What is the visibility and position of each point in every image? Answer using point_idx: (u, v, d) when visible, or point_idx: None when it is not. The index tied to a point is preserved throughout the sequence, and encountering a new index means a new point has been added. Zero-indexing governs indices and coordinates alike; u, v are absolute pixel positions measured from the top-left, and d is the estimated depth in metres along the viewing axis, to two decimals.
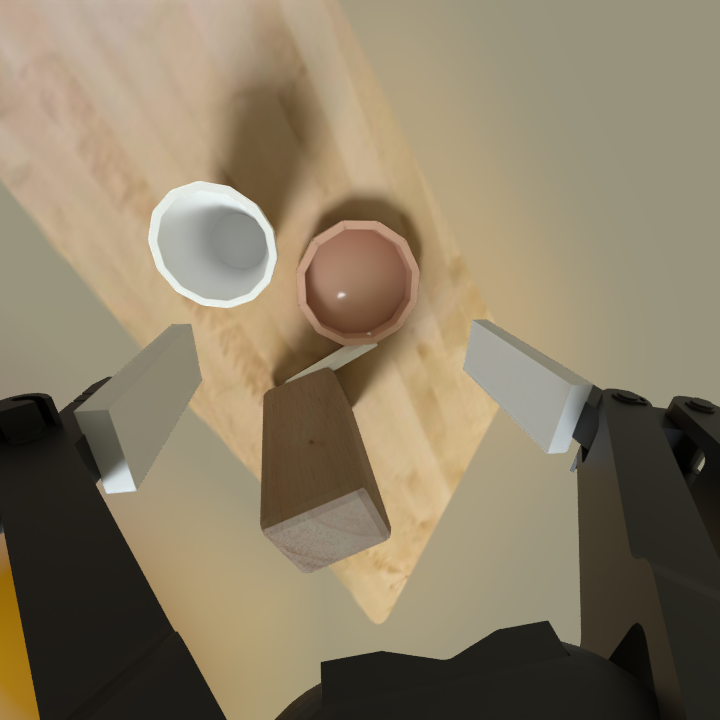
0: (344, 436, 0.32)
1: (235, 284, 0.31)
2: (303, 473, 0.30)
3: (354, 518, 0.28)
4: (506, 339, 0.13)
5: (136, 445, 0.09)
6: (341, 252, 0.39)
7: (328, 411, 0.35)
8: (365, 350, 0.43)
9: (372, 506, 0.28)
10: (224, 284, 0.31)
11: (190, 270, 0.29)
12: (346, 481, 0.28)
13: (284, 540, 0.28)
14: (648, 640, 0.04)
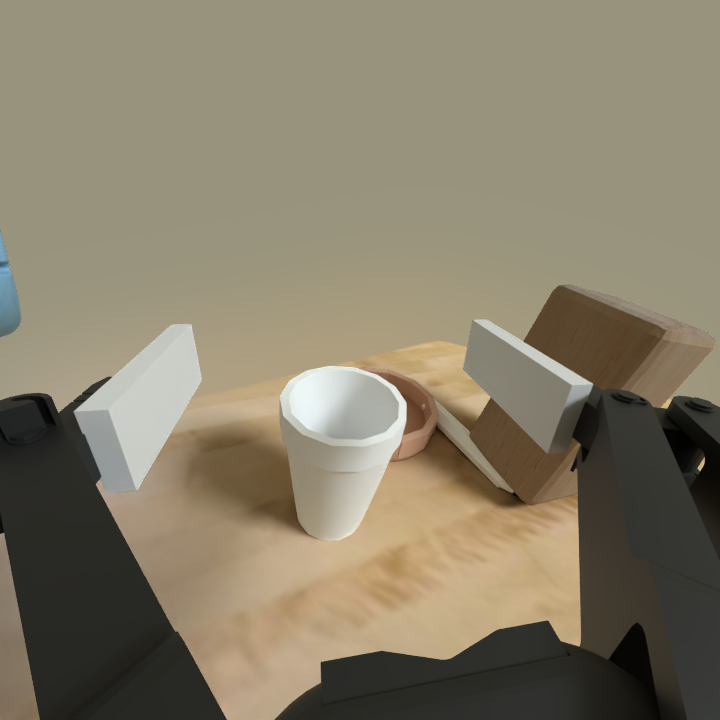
0: (526, 342, 0.32)
1: None
2: (580, 344, 0.27)
3: (598, 293, 0.30)
4: (506, 339, 0.13)
5: (136, 445, 0.09)
6: None
7: None
8: (441, 406, 0.43)
9: None
10: None
11: None
12: (561, 298, 0.29)
13: (666, 321, 0.24)
14: (648, 640, 0.04)
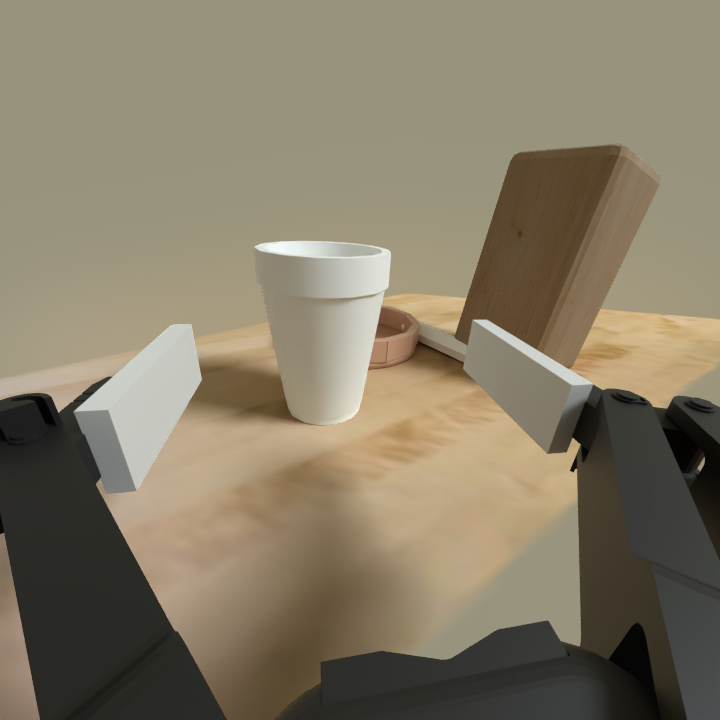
0: (494, 220, 0.33)
1: None
2: (546, 195, 0.28)
3: None
4: (506, 339, 0.13)
5: (136, 445, 0.09)
6: None
7: (487, 265, 0.34)
8: (420, 322, 0.42)
9: None
10: None
11: None
12: (519, 163, 0.30)
13: None
14: (648, 640, 0.04)
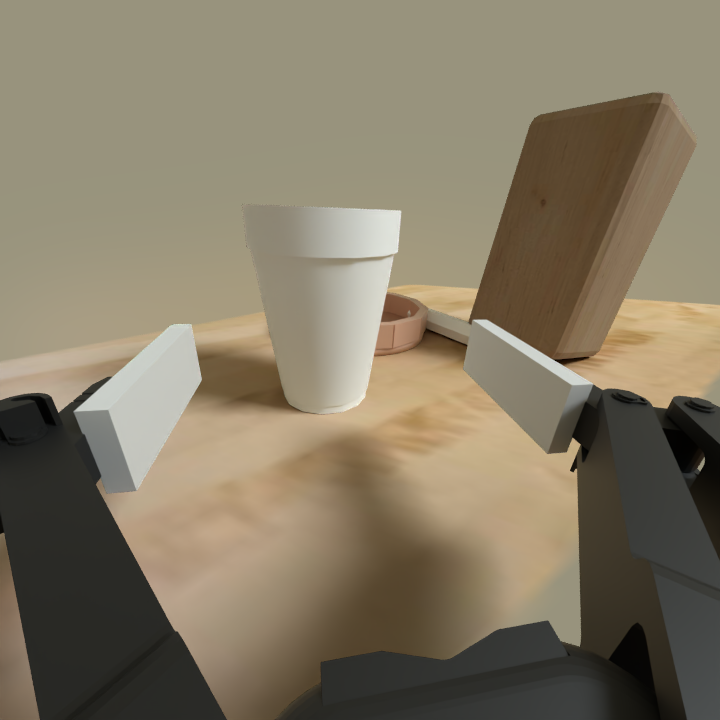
0: (512, 191, 0.30)
1: None
2: (573, 156, 0.26)
3: None
4: (506, 339, 0.13)
5: (136, 445, 0.09)
6: None
7: (505, 240, 0.31)
8: None
9: None
10: None
11: None
12: (541, 125, 0.28)
13: None
14: (648, 640, 0.04)
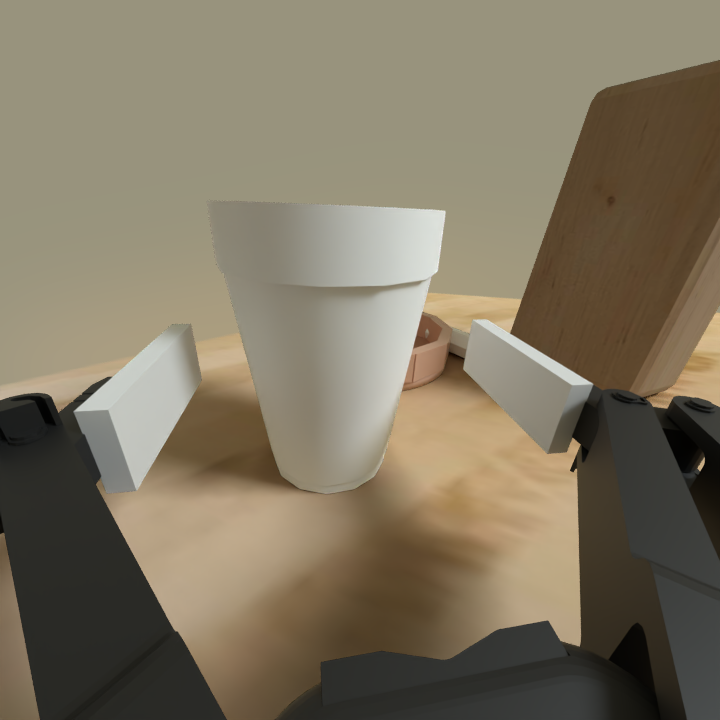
0: (566, 186, 0.24)
1: None
2: (657, 139, 0.19)
3: None
4: (506, 339, 0.13)
5: (136, 445, 0.09)
6: None
7: (556, 248, 0.24)
8: None
9: None
10: None
11: None
12: (608, 101, 0.21)
13: None
14: (648, 640, 0.04)
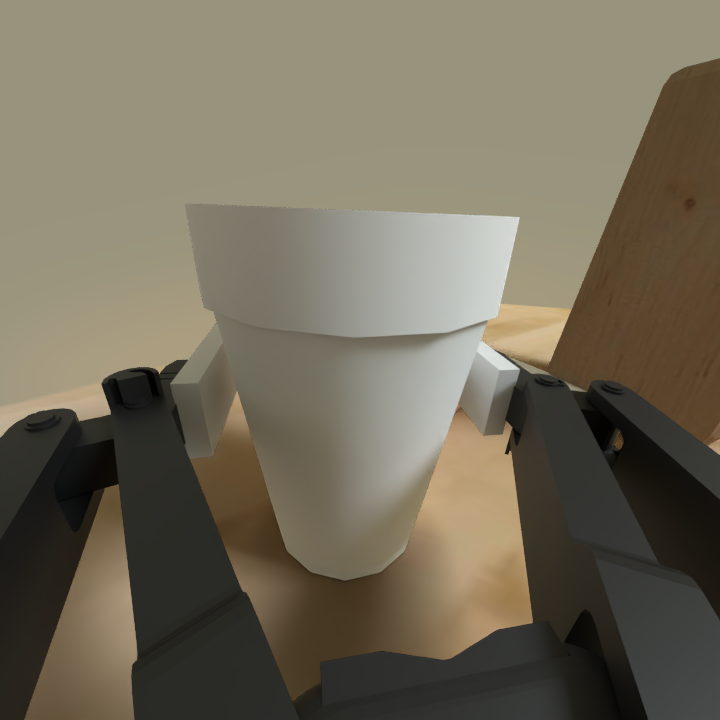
0: (628, 187, 0.20)
1: None
2: None
3: None
4: None
5: (212, 417, 0.10)
6: None
7: (614, 260, 0.21)
8: None
9: None
10: None
11: None
12: (687, 84, 0.18)
13: None
14: (598, 628, 0.04)
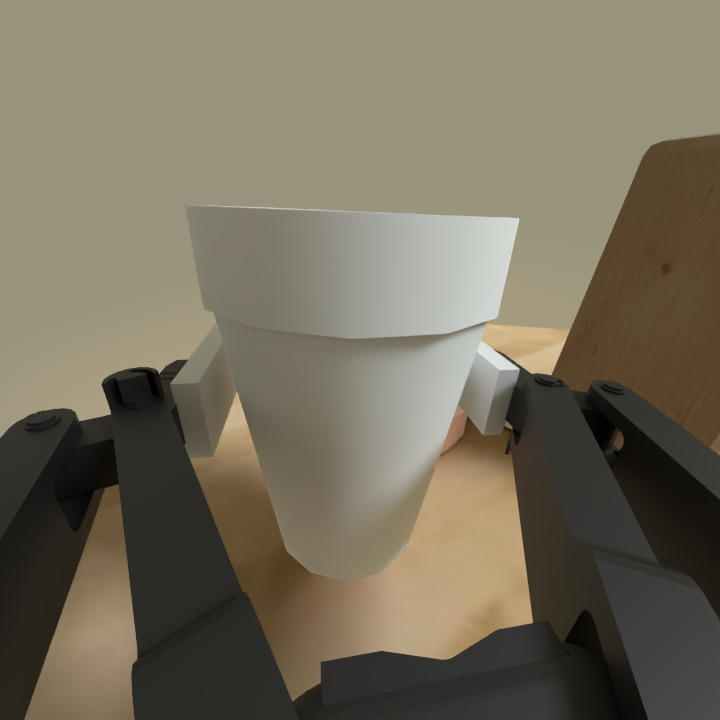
0: (611, 246, 0.21)
1: None
2: None
3: None
4: None
5: (212, 417, 0.10)
6: None
7: (598, 312, 0.22)
8: None
9: None
10: None
11: None
12: (664, 157, 0.19)
13: None
14: (598, 628, 0.04)
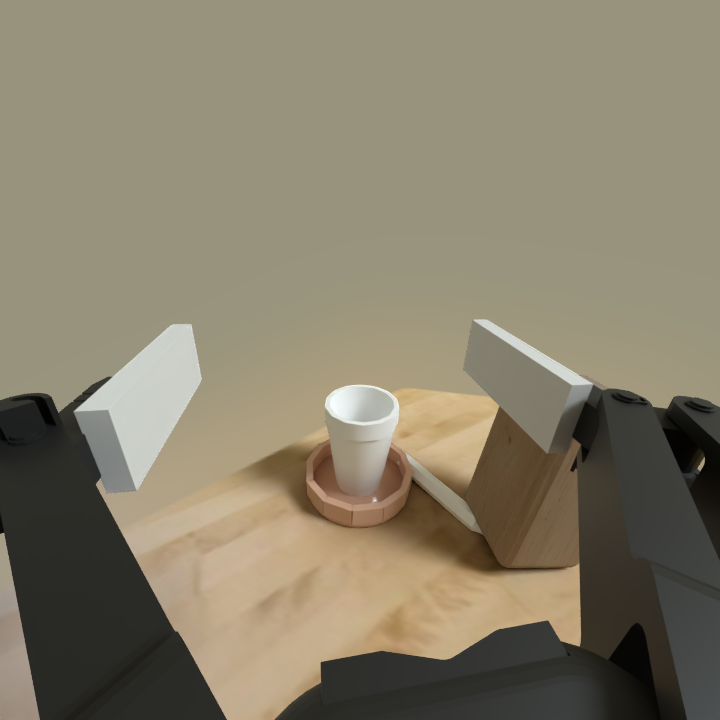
0: (497, 415, 0.38)
1: None
2: None
3: None
4: (506, 339, 0.13)
5: (136, 445, 0.09)
6: (332, 491, 0.44)
7: (489, 451, 0.38)
8: (413, 460, 0.48)
9: None
10: None
11: None
12: None
13: None
14: (648, 640, 0.04)
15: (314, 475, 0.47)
